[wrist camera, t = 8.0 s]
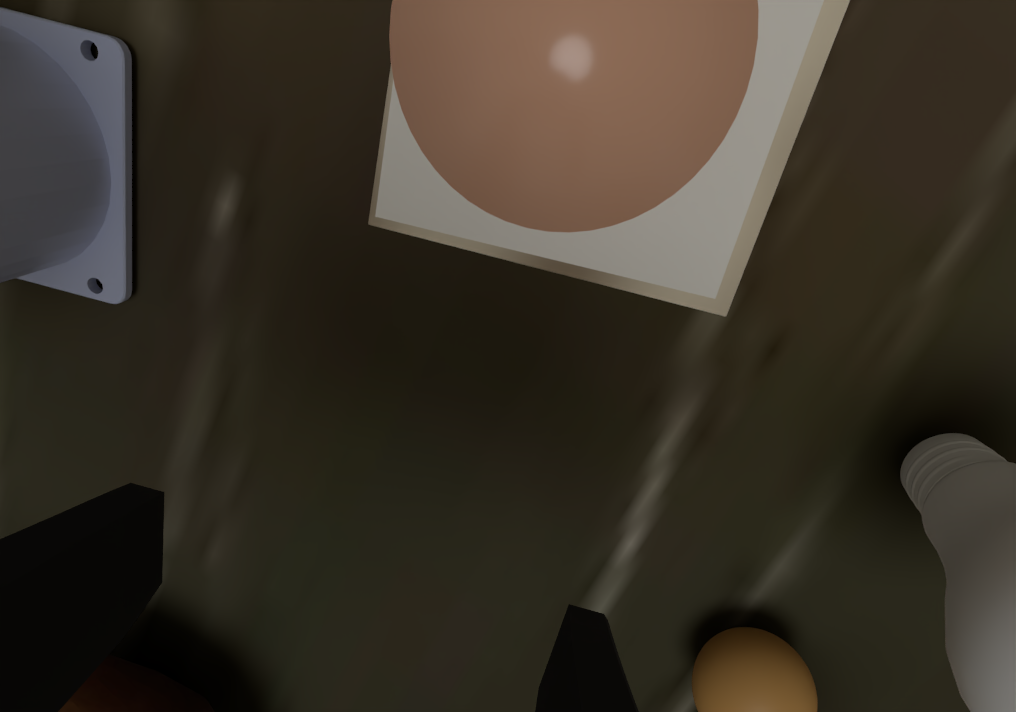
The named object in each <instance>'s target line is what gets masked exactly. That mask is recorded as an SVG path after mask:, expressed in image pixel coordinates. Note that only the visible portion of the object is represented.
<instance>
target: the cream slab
mask: <svg viewBox="0 0 1016 712" xmlns="http://www.w3.org/2000/svg"><path fill="white" fill-rule="evenodd" d="M823 2H824V0H758V9H759V13H758V40H757V47H756V54H755V60H754V66H753V70H752V74H751V77H750V81H749V84H748V88H747V92H746V94H745V97H744V99H743V102H742V104H741V107H740V109H739V111H738V114H737V116H736V118H735V120H734V122H733V124H732V126H731V127H730V129H729V131H728V133H727V135H726V136H725V138H724V140H723V141H722V143H721V144H720V146H719V147H718V148H717V150H716V151H715V153H714V154H713V155H712V157H711V158H710V160H709V161H708V162H707V163H706V164H705V165H704V166H703V167H702V169H701V170H700V171H699V172H698V173H697V174H696V175H695V176H694V177H693V178H692V179H691V180H690V181H689V182H688V183H687V184H686V185H684V186H683V187H682V188H681V189H680V190H679V191H677V192H676V193H675V194H674V195H673V196H671V197H670V198H668V199H667V200H665V201H664V202H662V203H661V204H659V205H658V206H656V207H655V208H653V209H651V210H649V211H647V212H645V213H643V214H641V215H639V216H637V217H635V218H633V219H630V220H627V221H625V222H622V223H619V224H616V225H613V226H609V227H605V228H600V229H596V230H591V231H580V232H547V231H541V230H536V229H530V228H525V227H522V226H519V225H516V224H513V223H509V222H506V221H504V220H502V219H500V218H498V217H495V216H493V215H491V214H489V213H487V212H485V211H483V210H482V209H480V208H479V207H477V206H476V205H474V204H472V203H471V202H469V201H468V200H467V199H465V198H464V197H463V196H462V195H461V194H459V193H458V192H457V191H456V190H454V189H453V188H452V187H451V186H450V185H449V184H448V183H447V182H446V181H445V180H444V179H443V178H442V177H441V175H440V174H439V173H438V172H437V171H436V170H435V169H434V167H433V166H432V165H431V163H430V162H429V161H428V159H427V158H426V156H425V155H424V154H423V152H422V151H421V149H420V147H419V145H418V144H417V142H416V140H415V138H414V137H413V135H412V133H411V131H410V129H409V126H408V124H407V122H406V119H405V117H404V114H403V112H402V110H401V106H400V103H399V99H398V96H397V92H396V89H395V85H394V79H393V86H392V93H391V101H390V108H389V116H388V123H387V131H386V139H385V146H384V154H383V161H382V169H381V176H380V184H379V191H378V199H377V206H376V214H375V217H379V218H383V219H387V220H391V221H395V222H399V223H403V224H408V225H412V226H416V227H420V228H424V229H428V230H432V231H436V232H441V233H445V234H449V235H453V236H457V237H461V238H465V239H470V240H474V241H478V242H482V243H486V244H490V245H494V246H498V247H503V248H507V249H511V250H515V251H519V252H523V253H527V254H532V255H536V256H540V257H544V258H548V259H552V260H556V261H560V262H565V263H569V264H573V265H577V266H581V267H585V268H589V269H593V270H598V271H602V272H606V273H610V274H614V275H618V276H622V277H627V278H631V279H635V280H639V281H643V282H647V283H651V284H655V285H660V286H664V287H668V288H672V289H676V290H680V291H684V292H688V293H693V294H697V295H701V296H705V297H709V298H713V299H715V298H716V296H717V293H718V290H719V287H720V285H721V282H722V279H723V276H724V274H725V271H726V268H727V265H728V263H729V260H730V257H731V254H732V252H733V249H734V246H735V243H736V241H737V238H738V235H739V232H740V230H741V227H742V224H743V221H744V219H745V216H746V213H747V210H748V208H749V205H750V202H751V199H752V197H753V194H754V191H755V189H756V186H757V183H758V180H759V178H760V175H761V172H762V169H763V167H764V164H765V161H766V158H767V156H768V153H769V150H770V147H771V145H772V142H773V139H774V136H775V134H776V131H777V128H778V125H779V123H780V120H781V117H782V114H783V112H784V109H785V106H786V103H787V101H788V98H789V95H790V92H791V90H792V87H793V84H794V81H795V79H796V76H797V73H798V70H799V68H800V65H801V62H802V59H803V57H804V54H805V51H806V48H807V46H808V43H809V40H810V37H811V35H812V32H813V29H814V26H815V24H816V21H817V18H818V16H819V13H820V10H821V7H822V5H823Z"/></svg>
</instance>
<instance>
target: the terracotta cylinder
mask: <svg viewBox="0 0 1016 712" xmlns="http://www.w3.org/2000/svg"><path fill="white" fill-rule="evenodd" d="M758 13H759V9H758V0H393V1H392V6H391V17H390V32H389V39H390V59H391V66H392V73H393V79H394V85H395V89H396V92H397V96H398V99H399V103H400V106H401V110H402V112H403V114H404V117H405V119H406V122H407V124H408V126H409V129H410V131H411V133H412V135H413V137H414V138H415V140H416V142H417V144H418V145H419V147H420V149H421V151H422V152H423V154H424V155H425V156H426V158H427V159H428V161H429V162H430V163H431V165H432V166H433V167H434V169H435V170H436V171H437V172H438V173H439V174H440V175H441V177H442V178H443V179H444V180H445V181H446V182H447V183H448V184H449V185H450V186H451V187H452V188H453V189H454V190H456V191H457V192H458V193H459V194H461V195H462V196H463V197H464V198H465V199H467V200H468V201H469V202H471V203H472V204H474V205H476V206H477V207H479V208H480V209H482V210H483V211H485V212H487V213H489V214H491V215H493V216H495V217H498V218H500V219H502V220H504V221H506V222H509V223H513V224H516V225H519V226H522V227H525V228H530V229H536V230H541V231H547V232H580V231H591V230H596V229H600V228H605V227H609V226H613V225H616V224H619V223H622V222H625V221H627V220H630V219H633V218H635V217H637V216H639V215H641V214H643V213H645V212H647V211H649V210H651V209H653V208H655V207H656V206H658V205H659V204H661V203H662V202H664V201H665V200H667V199H668V198H670V197H671V196H673V195H674V194H675V193H676V192H677V191H679V190H680V189H681V188H682V187H683V186H684V185H686V184H687V183H688V182H689V181H690V180H691V179H692V178H693V177H694V176H695V175H696V174H697V173H698V172H699V171H700V170H701V169H702V167H703V166H704V165H705V164H706V163H707V162H708V161H709V160H710V158H711V157H712V155H713V154H714V153H715V151H716V150H717V148H718V147H719V146H720V144H721V143H722V141H723V140H724V138H725V136H726V135H727V133H728V131H729V129H730V127H731V126H732V124H733V122H734V120H735V118H736V116H737V114H738V111H739V109H740V107H741V104H742V102H743V99H744V97H745V94H746V92H747V88H748V84H749V81H750V77H751V74H752V70H753V66H754V60H755V54H756V47H757V40H758Z"/></svg>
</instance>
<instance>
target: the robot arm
mask: <svg viewBox="0 0 1016 712" xmlns="http://www.w3.org/2000/svg"><path fill="white" fill-rule="evenodd" d="M92 43H94V44H95V45H96V47H97V49H98V57H97V59H95V58H94V57H93V56H92V54H91V50H90V48H91V44H92ZM14 278H17V279H21V280H25V281H28V282H32V283H36V284H40V285H43V286H47V287H51V288H55V289H58V290H62V291H66V292H69V293H73V294H77V295H81V296H84V297H88V298H92V299H96V300H99V301H103V302H107V303H111V304H118V303H121V302H123V301H126V300H128V299H129V298H130V296H131V293H132V58H131V52H130V51H129V49H128V47H127V45H126V44H125V43H124V42H123V41H122V40H121V39H119V38H117V37H114V36H111V35H107V34H103V33H99V32H95V31H91V30H87V29H84V28H80V27H76V26H72V25H68V24H64V23H60V22H57V21H53V20H49V19H45V18H41V17H37V16H33V15H30V14H26V13H22V12H18V11H14V10H10V9H6V8H3V7H0V283H1V282H4V281H8V280H11V279H14ZM96 279H98V280H99V281H100V282H101V283H102V286H103V289H101V288H100V287H99V286H98V285H97V282H96ZM163 522H164V492H161V491H158V490H154V489H151V488H147V487H143V486H140V485H136V484H133V483H130V484H127V485H125V486H122V487H120V488H117V489H115V490H112V491H110V492H107V493H105V494H103V495H101V496H98V497H96V498H94V499H91V500H89V501H87V502H85V503H82V504H80V505H78V506H75V507H73V508H71V509H69V510H66V511H64V512H62V513H60V514H57V515H55V516H53V517H51V518H48V519H46V520H44V521H42V522H39V523H37V524H35V525H32V526H30V527H28V528H25V529H23V530H21V531H18V532H16V533H14V534H11V535H9V536H7V537H4V538H2V539H0V712H58V711H59V710H60V709H61V708H62V707H63V706H64V705H65V704H66V702H67V701H68V700H69V699H70V698H71V697H72V696H73V695H74V693H75V692H76V691H77V690H78V689H79V688H80V687H81V686H82V684H83V683H84V682H85V681H86V680H87V679H88V678H89V677H90V675H91V674H92V673H93V672H94V671H95V670H96V669H97V667H98V666H99V665H100V664H101V663H102V662H103V661H104V659H105V658H106V657H107V656H108V655H109V654H110V653H111V651H112V650H113V649H114V648H115V647H116V646H117V644H118V643H119V642H120V641H121V640H122V639H123V637H124V636H125V635H126V634H127V632H128V631H129V629H130V628H131V627H132V625H133V624H134V622H135V621H136V620H137V618H138V617H139V615H140V614H141V613H142V611H143V610H144V608H145V607H146V605H147V604H148V602H149V601H150V599H151V598H152V596H153V595H154V594H155V592H156V591H157V589H158V588H159V586H160V585H161V583H162V564H163ZM535 712H639V711H638V709H637V706H636V703H635V701H634V698H633V695H632V693H631V690H630V687H629V684H628V681H627V679H626V676H625V673H624V670H623V667H622V664H621V661H620V658H619V655H618V652H617V649H616V646H615V643H614V640H613V636H612V633H611V630H610V626H609V623H608V620H607V618H606V617H605V615H604V614H602V613H598V612H595V611H591V610H587V609H584V608H580V607H577V606H573V605H569V606H568V608H567V611H566V614H565V617H564V619H563V622H562V625H561V628H560V631H559V633H558V636H557V639H556V642H555V644H554V647H553V650H552V653H551V656H550V658H549V661H548V664H547V667H546V669H545V672H544V675H543V678H542V681H541V683H540V686H539V690H538V697H537V704H536V711H535Z"/></svg>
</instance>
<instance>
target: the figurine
mask: <svg viewBox="0 0 1016 712" xmlns="http://www.w3.org/2000/svg"><path fill="white" fill-rule="evenodd" d="M692 691H693V697H694V701H695V704H696V707H697V710H698V712H817V693H816V688H815V684H814V681H813V678H812V675H811V673H810V671H809V669H808V667H807V665H806V664H805V662H804V661H803V659H802V658H801V657H800V655H799V654H798V653H797V652H796V651H795V650H794V649H793V648H792V647H791V646H790V645H789V644H788V643H786V642H785V641H784V640H782V639H781V638H779V637H778V636H776V635H774V634H772V633H770V632H767V631H765V630H761V629H758V628H752V627H736V628H731V629H728V630H725V631H722V632H720V633H718V634H717V635H715V636H714V637H712V638H711V639H710V640H709V641H708V642H707V643H706V644H705V645H704V646H703V648H702V649H701V651H700V652H699V654H698V656H697V658H696V661H695V664H694V668H693V673H692Z"/></svg>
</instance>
